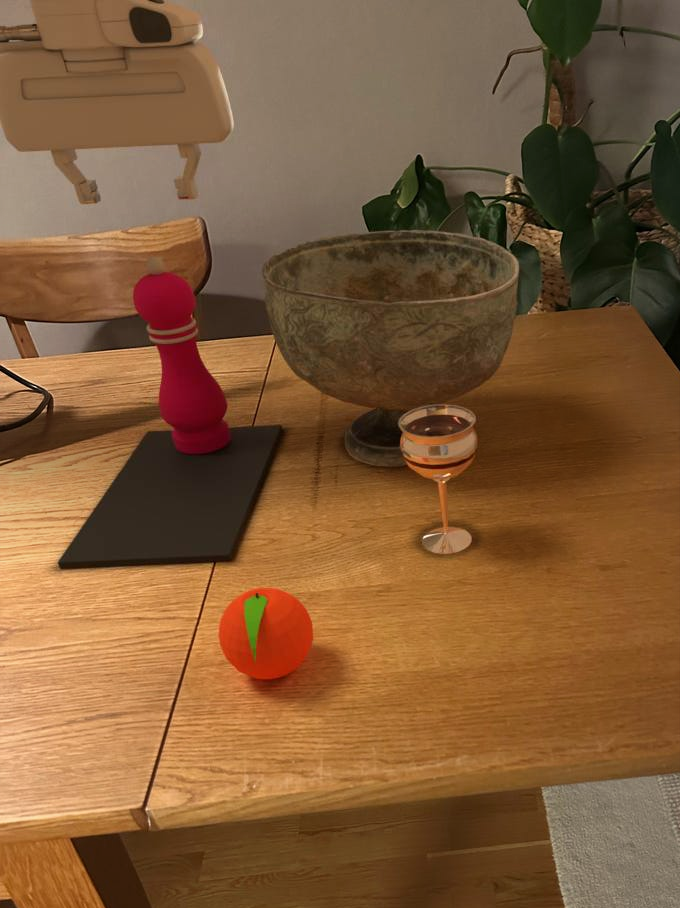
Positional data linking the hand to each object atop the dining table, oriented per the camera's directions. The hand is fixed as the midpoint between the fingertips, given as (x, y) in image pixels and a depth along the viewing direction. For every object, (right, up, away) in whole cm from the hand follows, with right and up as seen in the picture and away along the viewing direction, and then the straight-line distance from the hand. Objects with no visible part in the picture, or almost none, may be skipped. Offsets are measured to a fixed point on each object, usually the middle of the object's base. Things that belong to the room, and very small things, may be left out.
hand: (139, 200), depth 80 cm
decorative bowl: (+24, -19, +16) cm, 35 cm away
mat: (+1, -26, +8) cm, 28 cm away
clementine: (+17, -45, -15) cm, 50 cm away
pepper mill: (+1, -20, +16) cm, 25 cm away
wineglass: (+29, -33, -1) cm, 44 cm away
